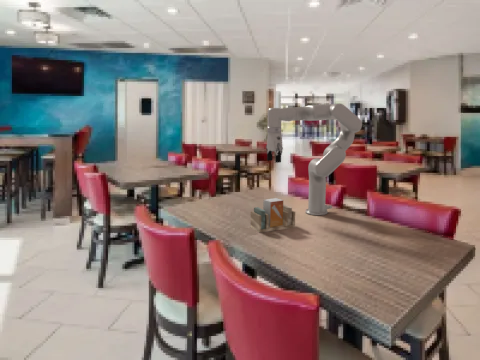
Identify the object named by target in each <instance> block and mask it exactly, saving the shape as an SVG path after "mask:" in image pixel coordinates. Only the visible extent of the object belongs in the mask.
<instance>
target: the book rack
mask: <svg viewBox="0 0 480 360" xmlns="http://www.w3.org/2000/svg"><path fill="white" fill-rule="evenodd" d="M250 228H251V229H253V230H254V231H256V232H257V233H268V232H272V231H280V230H286V229H287V230H288V229H289V230H290V229H294V228H295V229H296V211H294V210H293V207H291V206H288V205H287V204H284V203H283V225H281V226H275V227H269V215H268V214H266V213H265V210H263V208H260V207H253V210H251V211H250Z"/></svg>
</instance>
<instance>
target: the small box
mask: <svg viewBox="0 0 480 360" xmlns="http://www.w3.org/2000/svg"><path fill="white" fill-rule="evenodd" d="M262 203H263V207H262V209H263V210H265V213H266V214H268V215H269V227H275V226H281V225H283V204H284V200H283V199H280V198H277V197H274V198H268V199H267V198H266V199H263V202H262Z"/></svg>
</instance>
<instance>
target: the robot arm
mask: <svg viewBox="0 0 480 360" xmlns="http://www.w3.org/2000/svg"><path fill="white" fill-rule="evenodd" d="M326 120H327V121H328V120H329V121H330V120H337V122H339V124H340V125H339V129H340V133H339V135H338V136H337V138H335V140H334V141H333V142H331V143H330V144H329V145H328V146H326V148H325V149H324V151H323V154H322V155H323V157H322V158H320V157H316V158H313V159H311V160H310V162H309V163H308V169H307V170H308V203H307V205H308V206H307V207H308V208H307V209H305V213H306V214H308V215H312V216H325V215H327V214H328V209H329V210H331V209H333V205H332V204H331V205H330V204H329V205H327V204H326V192H327V191H326V190H327V178H326V177H328V176H330V175H331V174H332V173H333V172H334V171H335V170H336V169H337V168H338V167H339V166H340V165H341V164H342V163H343V162H344V161H345V160H346V157H347V153H346V151H347V150H348V149H349V148H350V147H351V146H352V144H353V142H354V140H355V134H356V133H358V132H359V131H361V130H362V126H363V123H362V120H361V119H360V118H359V117H358V116H357V114H355V113H354V112H352V111H351V109H349V108H348V107H347V106H346V105H344V104H342V103H329V104H328V103H325V104H312V105H311V104H310V105H306V106H296V107H295V106H294V107H291V106H290V107H282V108H279V107H269V108H268V109H267V130H266V131H267V132H266V133H267V138H266V139H267V140H266V141H267V142H266V145H265V148H266V150H265V151H266V160H267V162H268V161H269V162H270V161H271V162H272V161H273V159H274V158H273V152H274V153H275V154H276V155H275V163H276V164H277V163H281V162H282V154H283V150H284V147H283V136H282V121H283V122H292V121H295V122H296V121H307V122H310V121H326Z"/></svg>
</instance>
